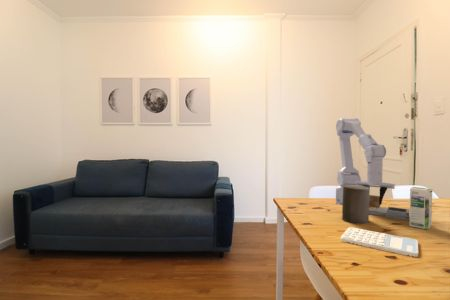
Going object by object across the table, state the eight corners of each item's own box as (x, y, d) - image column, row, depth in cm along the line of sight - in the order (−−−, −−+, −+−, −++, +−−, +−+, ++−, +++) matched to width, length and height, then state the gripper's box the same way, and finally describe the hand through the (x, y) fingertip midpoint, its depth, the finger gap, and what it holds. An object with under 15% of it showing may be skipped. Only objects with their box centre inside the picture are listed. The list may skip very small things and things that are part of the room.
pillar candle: (341, 221, 101) (342, 184, 101) (342, 215, 110) (343, 180, 109) (369, 225, 97) (370, 186, 96) (368, 218, 105) (369, 182, 105)
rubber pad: (375, 210, 119) (375, 209, 119) (376, 207, 125) (376, 206, 125) (393, 212, 115) (393, 211, 115) (393, 209, 121) (393, 208, 121)
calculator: (348, 231, 92) (348, 225, 92) (417, 244, 80) (418, 238, 80) (339, 242, 81) (339, 236, 81) (418, 259, 69) (418, 252, 69)
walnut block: (368, 206, 111) (368, 196, 111) (369, 205, 115) (369, 195, 115) (379, 208, 109) (379, 197, 109) (380, 206, 112) (380, 196, 112)
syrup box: (408, 226, 96) (409, 187, 96) (413, 223, 100) (414, 186, 99) (427, 230, 92) (428, 190, 91) (431, 226, 95) (432, 188, 95)
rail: (357, 214, 112) (357, 206, 112) (360, 210, 118) (360, 203, 118) (409, 222, 101) (409, 213, 101) (409, 217, 107) (409, 209, 107)
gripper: (354, 172, 112) (354, 202, 113) (394, 174, 104) (393, 207, 104) (357, 170, 118) (356, 200, 118) (395, 173, 109) (394, 204, 110)
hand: (374, 203), depth 112 cm, fingers closed on walnut block, 4 cm apart
